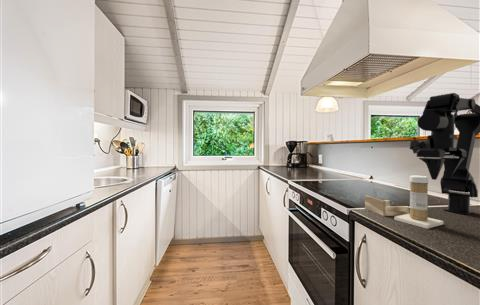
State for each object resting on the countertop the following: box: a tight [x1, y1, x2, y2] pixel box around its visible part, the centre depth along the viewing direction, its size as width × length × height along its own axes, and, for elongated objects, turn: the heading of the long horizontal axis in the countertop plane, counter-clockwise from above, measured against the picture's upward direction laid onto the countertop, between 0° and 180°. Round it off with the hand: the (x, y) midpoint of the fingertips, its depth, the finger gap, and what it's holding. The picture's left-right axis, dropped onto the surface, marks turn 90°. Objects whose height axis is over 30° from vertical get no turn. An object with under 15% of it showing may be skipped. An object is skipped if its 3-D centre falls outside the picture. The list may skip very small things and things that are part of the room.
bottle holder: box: [364, 194, 410, 217], centre depth 81 cm, size 10×10×5 cm
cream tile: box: [393, 213, 444, 230], centre depth 70 cm, size 9×9×1 cm
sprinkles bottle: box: [409, 174, 429, 220], centre depth 70 cm, size 5×5×14 cm
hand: (441, 178), depth 75 cm, fingers open, 9 cm apart
